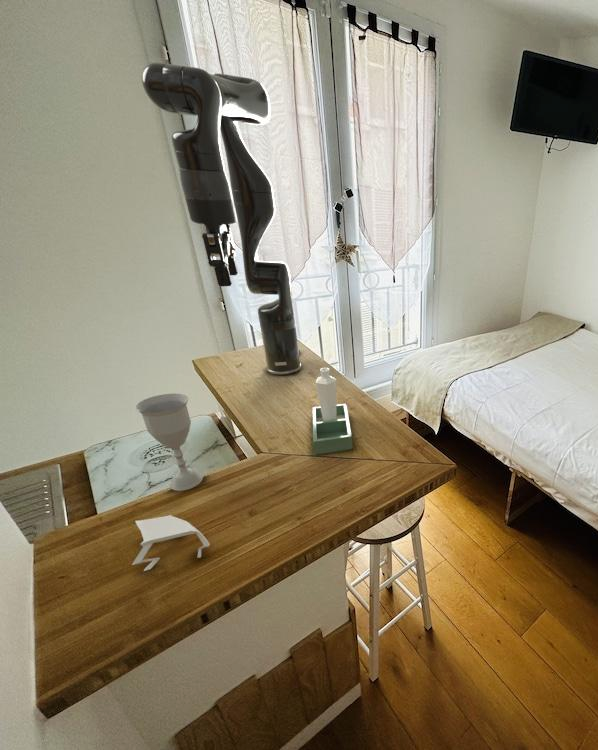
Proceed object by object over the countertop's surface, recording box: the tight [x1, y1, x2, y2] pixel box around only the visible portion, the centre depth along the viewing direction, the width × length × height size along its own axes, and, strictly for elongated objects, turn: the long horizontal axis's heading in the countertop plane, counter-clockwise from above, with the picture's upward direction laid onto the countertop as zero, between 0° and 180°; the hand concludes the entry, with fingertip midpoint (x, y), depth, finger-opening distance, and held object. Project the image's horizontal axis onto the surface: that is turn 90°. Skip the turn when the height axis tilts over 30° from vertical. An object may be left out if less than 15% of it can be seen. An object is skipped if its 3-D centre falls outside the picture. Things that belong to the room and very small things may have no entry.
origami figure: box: [131, 514, 211, 572], centre depth 63 cm, size 12×8×5 cm
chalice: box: [135, 393, 204, 492], centre depth 74 cm, size 7×7×18 cm
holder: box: [311, 403, 354, 456], centre depth 96 cm, size 15×8×4 cm, turn 23°
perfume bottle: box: [315, 367, 337, 421], centre depth 96 cm, size 5×4×15 cm
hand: (228, 280), depth 82 cm, fingers open, 8 cm apart
